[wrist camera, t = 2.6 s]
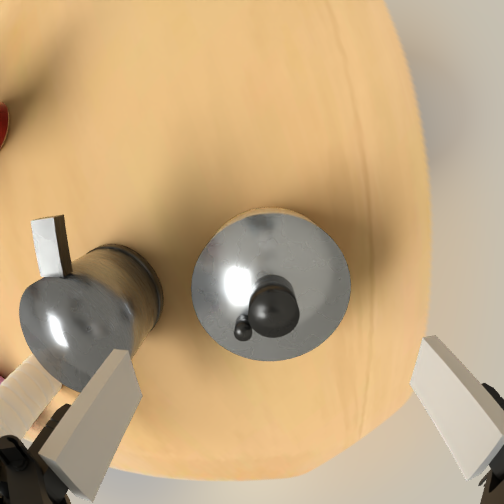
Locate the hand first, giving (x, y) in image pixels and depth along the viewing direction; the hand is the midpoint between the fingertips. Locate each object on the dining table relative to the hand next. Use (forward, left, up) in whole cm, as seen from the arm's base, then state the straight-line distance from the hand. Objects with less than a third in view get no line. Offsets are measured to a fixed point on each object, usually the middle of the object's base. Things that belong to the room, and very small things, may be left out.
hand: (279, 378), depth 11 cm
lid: (0, 0, -12) cm, 12 cm away
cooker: (+12, -9, -14) cm, 21 cm away
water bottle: (+32, -11, -15) cm, 37 cm away
